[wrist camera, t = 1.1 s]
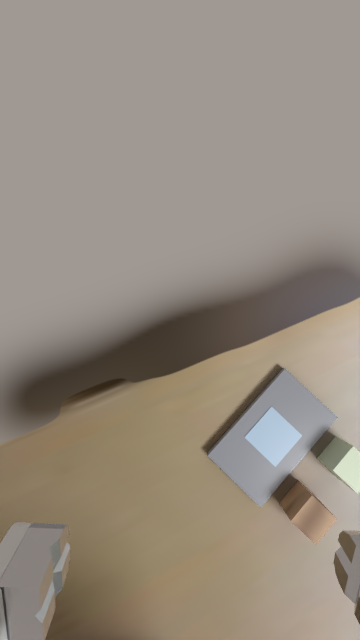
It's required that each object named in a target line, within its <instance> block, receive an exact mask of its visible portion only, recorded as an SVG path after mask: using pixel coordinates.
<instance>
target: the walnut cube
mask: <svg viewBox="0 0 360 640" xmlns="http://www.w3.org/2000/svg"><path fill="white" fill-rule="evenodd" d="M280 505H281V506H282V508H283V510H284V511H285V513H286V514H287V516H288V517H289V519H290V520H291V521H292V522H293V523H294V524H295V525H296V526H297V527H298V528H299V529H300V530H301V531H302V532H303V533H304V534H305V535H306V536H307V537H308V538H309V539H310V540H311V541H312V542H313V543H314V544H315V545H316V544H317V543H318V542H319V541H320V540H321V538H322V537H323V536H324V535H325V533H326V532H327V531H328V530H329V529H330V527H331V526H332V525H333V524H334V522H335V521H336V520H337V519H336V518H335V517H334V516H333V514H332V513H331V512H330V511H329V510H328V509H327V508H326V507H325V506H324V505H323V504H322V503H321V502H320V501H319V500H318V499H317V498H316V497H315V496H314V495H313V494H312V493H311V492H310V491H309V490H308V489H307V488H306V487H305V486H304V485H303V484H302V483H300V482H299V481H297V482H296V484H295V485H294V486H293V487H292V488H291V490H290V491H289V492H288V493H287V494H286V495H285V497H284V498H283V499H282V500H281V501H280Z"/></svg>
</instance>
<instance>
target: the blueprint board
mask: <svg viewBox="0 0 360 640" xmlns="http://www.w3.org/2000/svg"><path fill="white" fill-rule="evenodd" d="M337 418H338V417H337V416H336V415H335V414H334V413H333V412H331V411H330V410H329V409H328V408H327V407H326V406H325V405H324V404H323V403H322V402H321V401H320V400H318V399H317V398H316V397H315V396H314V395H313V394H312V393H311V392H310V391H309V390H308V389H307V388H305V387H304V386H303V385H302V384H301V383H300V382H299V381H298V380H297V379H296V378H295V377H294V376H293V375H291V374H290V373H289V372H288V371H287V370H286V369H284V368H282V369H281V371H280V372H279V373H278V374H277V375H276V376H275V377H274V378H273V380H272V381H271V382H270V383H269V384H268V385H267V386H266V387H265V388H264V390H263V391H262V392H261V393H260V394H259V395H258V396H257V397H256V399H255V400H254V401H253V402H252V403H251V404H250V405H249V406H248V408H247V409H246V410H245V411H244V412H243V413H242V414H241V415H240V417H239V418H238V419H237V420H236V421H235V422H234V423H233V424H232V425H231V427H230V428H229V429H228V430H227V431H226V432H225V433H224V434H223V436H222V437H221V438H220V439H219V440H218V441H217V442H216V443H215V445H214V446H213V447H212V448H211V449H210V450H209V451H208V452H207V455H208V457H209V458H211V459H212V460H213V461H214V462H215V463H216V464H217V465H218V466H219V467H220V468H221V469H222V470H223V471H224V472H225V473H226V474H227V475H228V476H229V477H230V478H231V479H232V480H233V481H234V482H235V483H236V484H237V485H238V486H239V487H240V488H241V489H242V490H243V491H244V492H245V493H246V494H247V495H248V496H249V497H250V498H251V499H252V500H253V501H254V502H255V503H256V504H257V505H258V506H259V507H260V508H261V507H262V506H263V504H264V503H265V502H266V501H267V500H268V499H269V497H270V496H271V495H272V494H273V493H274V492H275V490H276V489H277V488H278V487H279V486H280V485H281V483H282V482H283V481H284V480H285V479H286V477H287V476H288V475H289V474H290V473H291V472H292V470H293V469H294V468H295V467H296V466H297V465H298V463H299V462H300V461H301V460H302V459H303V458H304V456H305V455H306V454H307V453H308V452H309V450H310V449H311V448H312V447H313V446H314V445H315V443H316V442H317V441H318V440H319V439H320V438H321V436H322V435H323V434H324V433H325V432H326V430H327V429H328V428H329V427H330V426H331V425H332V423H333V422H334V421H335V420H336V419H337Z"/></svg>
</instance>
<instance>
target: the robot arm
mask: <svg viewBox="0 0 360 640" xmlns="http://www.w3.org/2000/svg"><path fill="white" fill-rule="evenodd" d="M69 535H70V531H69V525H64V524H46V523H24V522H16V523H15V524H14V525H13V526H12V527H11V528H10V529H9V530H8V532H7V534H6V535H5V537H4V538H3V540H2V542H1V543H0V640H45V638H46V635H47V632H48V630H49V627H50V624H51V621H52V618H53V615H54V612H55V609H56V608H55V596H56V595H57V594H58V593H59V592H60V591H61V590H62V589H63V586H64V583H65V580H66V577H67V572H68V568H69V563H70V554H71V550H70V545H69V544H68V543H67V540H68V537H69ZM338 541H339V543H340V545H341V546H342V547H340V548H339V549H338V550H337V551H336V552H335V558H334V566H335V572H336V576H337V579H338V581H339V584H340V586H341V588H342V590H343V592H344V594H345V595H346V596H347V597H348V598H349V599H350V600H351V601H352V602H353V603H355V613H354V614H355V616H356V618H357V620H358V622H359V624H360V531H342V532H341V533H340V534H339V539H338Z"/></svg>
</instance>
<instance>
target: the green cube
mask: <svg viewBox="0 0 360 640" xmlns="http://www.w3.org/2000/svg"><path fill="white" fill-rule="evenodd" d="M317 459H318V460H319V461H321V462H322V463H323V464H324V465H325V466H326V467H327V468H328V469H329V470H330V471H331V472H332V473H333V474H334V475H335V476H336V477H337V478H338V479H340V480H341V481H342V482H343V483H345V484H346V485H347V486H348V487H350V488H351V489H352V490H353V491H355V492H356V493H357V494H358V493H359V492H360V452H359V451H358V450H357V449H356V448H355V447H354V446H352V445H350V444H348V443H347V442H345V441H343V440H341V439H339V438H337V437H336V436H335V438H334V439H333V440H332V441H331V442H330V443H329V445H328V446H327V447H326V448H325V449H324V451H323V452H322V453H321V454H320V455H319V456H318V458H317Z"/></svg>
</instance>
